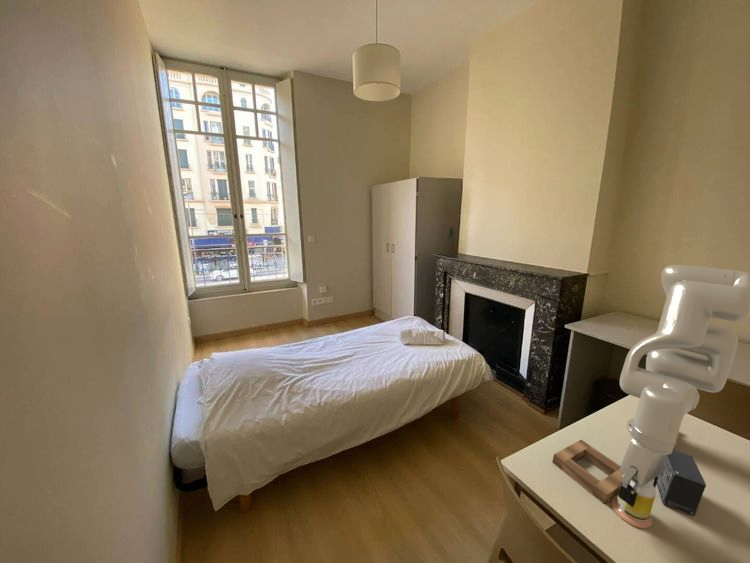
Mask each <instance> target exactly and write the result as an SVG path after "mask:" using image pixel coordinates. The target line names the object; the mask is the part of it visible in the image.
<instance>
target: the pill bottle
mask: <svg viewBox="0 0 750 563" xmlns="http://www.w3.org/2000/svg"><path fill="white" fill-rule="evenodd" d="M624 475H625V474H624ZM624 475H623V476H624ZM634 479H635V480H637V481H638V479H637V477H636V476H635V477H634ZM653 483H654V479H653V480H651V481H650V482H649V483H647V484H646V485H644V486H639V488H638V490H637V491H636V493H637V497H636V501H635V504H634V506H633V507H632V506H630V505H629V504H627V503H626V502H625V501H623V500H622V499H621V498H619V497H618V495H616V496H617V504H618V506H619V508H620V509H621V510H622V511H623V512H624V513H625V514H626V515H628V516H629V517H631V518H633V519H635V520H639V521H645V520H647V519H648V518H649V516H651V512H652V509H653V505H654V502H655V499H656V497H657V496H656V495H657V491H656V487H654V486H653ZM635 484H636V483H635V482H634V481H632V480H631V482H630V485H631V486H632V487H634V485H635ZM619 489H620V488H619ZM618 493H619V492H618Z"/></svg>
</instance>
